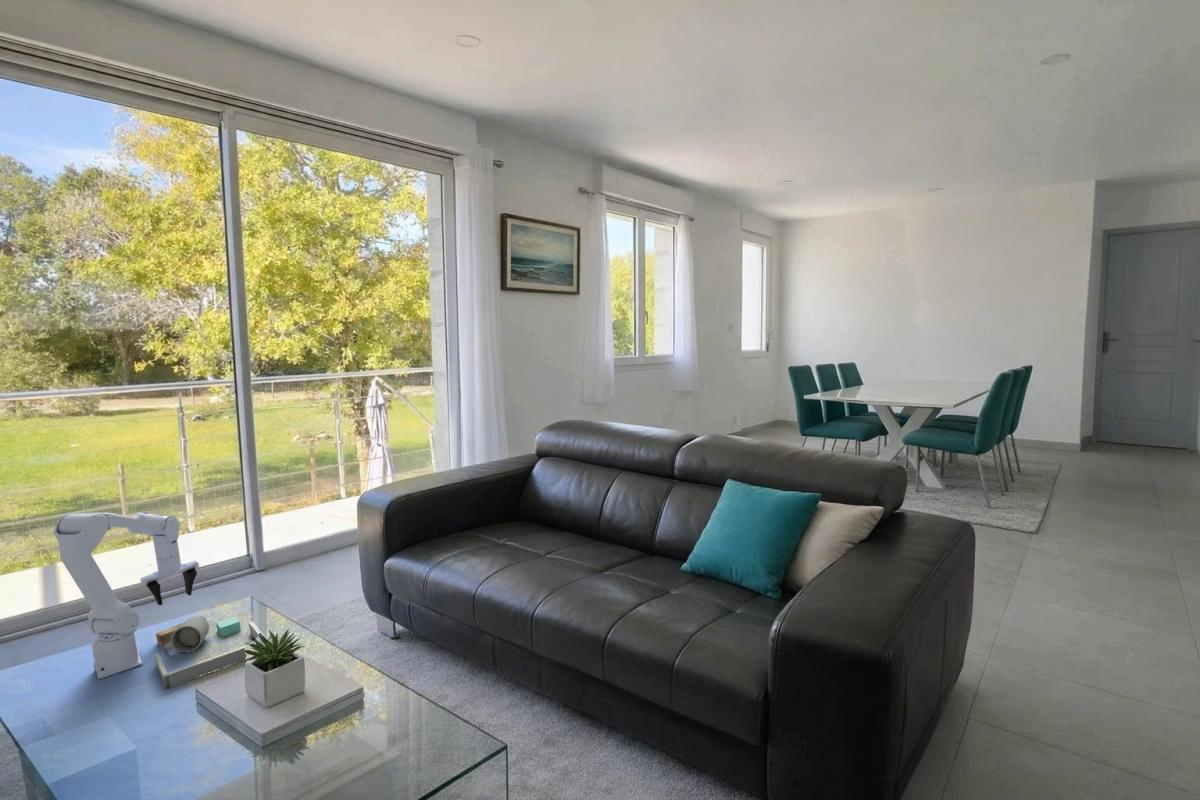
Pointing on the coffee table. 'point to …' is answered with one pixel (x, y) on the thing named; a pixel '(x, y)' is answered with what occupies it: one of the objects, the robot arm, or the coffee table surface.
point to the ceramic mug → (188, 635)
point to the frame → (202, 664)
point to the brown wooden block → (167, 634)
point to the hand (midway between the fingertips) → (174, 599)
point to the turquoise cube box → (228, 626)
